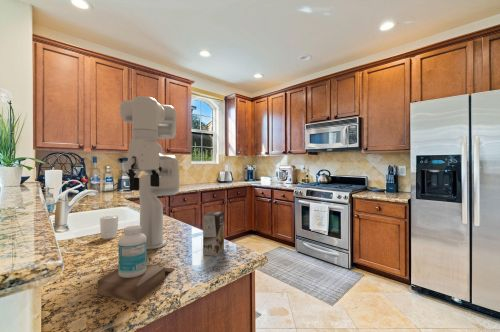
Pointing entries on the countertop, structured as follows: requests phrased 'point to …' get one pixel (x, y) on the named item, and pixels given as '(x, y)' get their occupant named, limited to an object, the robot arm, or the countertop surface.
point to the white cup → (109, 226)
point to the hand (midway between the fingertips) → (145, 188)
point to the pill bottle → (132, 252)
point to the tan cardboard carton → (132, 283)
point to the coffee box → (213, 233)
